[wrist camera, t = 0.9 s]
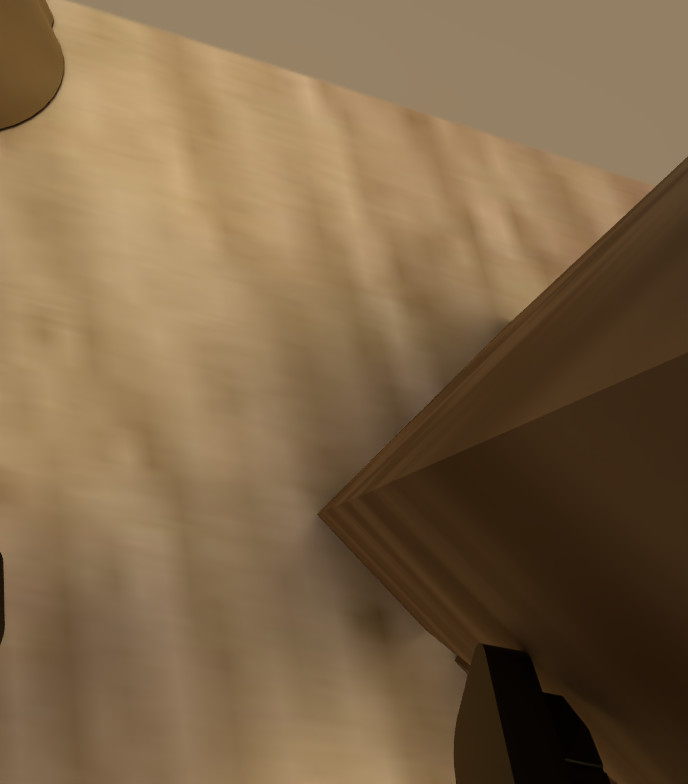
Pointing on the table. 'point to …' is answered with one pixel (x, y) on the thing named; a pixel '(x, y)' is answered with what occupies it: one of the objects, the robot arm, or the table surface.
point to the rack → (560, 494)
